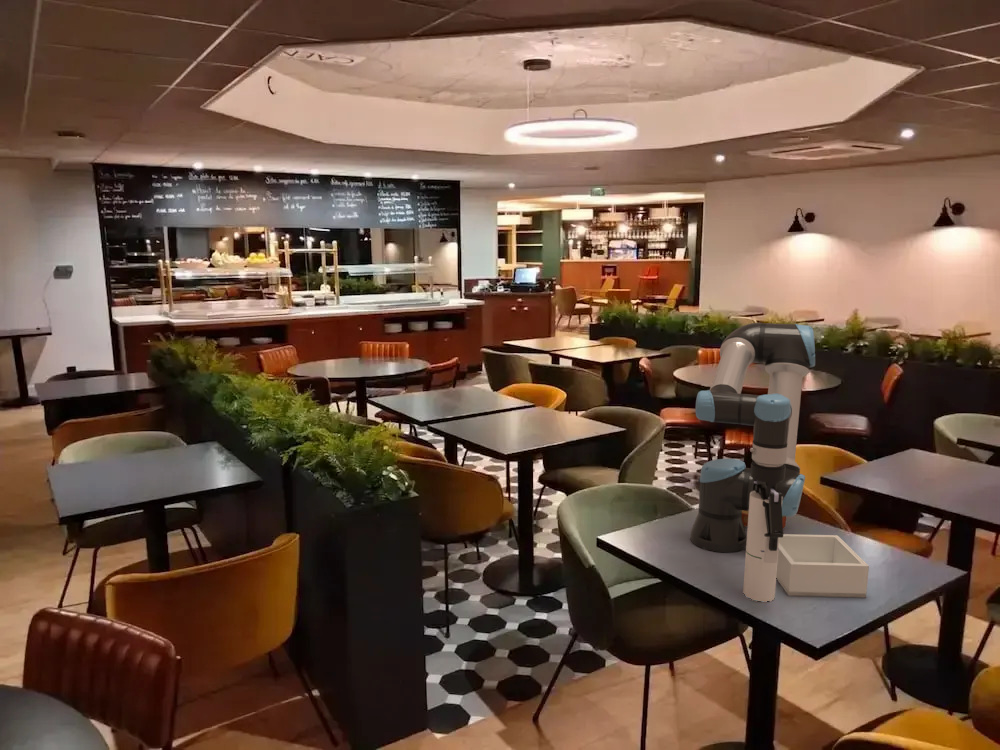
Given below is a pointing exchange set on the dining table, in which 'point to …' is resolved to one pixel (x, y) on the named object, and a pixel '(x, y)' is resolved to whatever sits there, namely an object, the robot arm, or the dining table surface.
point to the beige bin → (820, 567)
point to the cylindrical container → (758, 555)
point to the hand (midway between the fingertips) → (762, 551)
